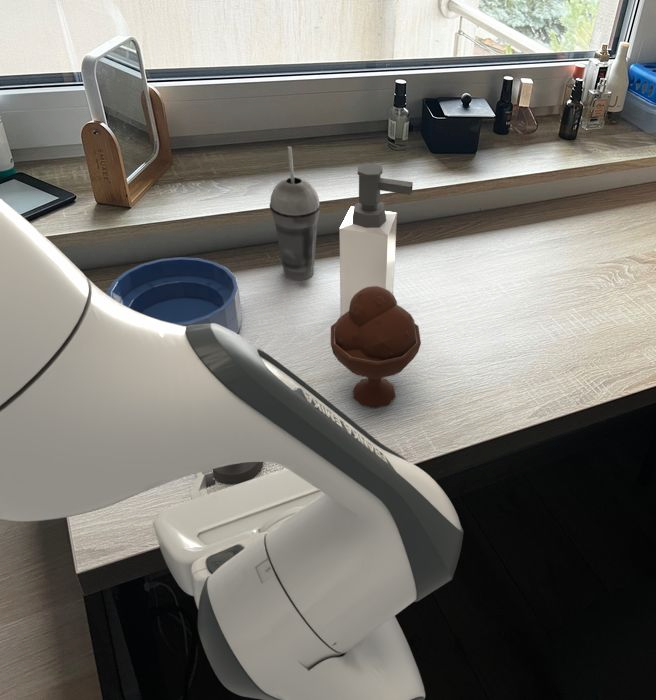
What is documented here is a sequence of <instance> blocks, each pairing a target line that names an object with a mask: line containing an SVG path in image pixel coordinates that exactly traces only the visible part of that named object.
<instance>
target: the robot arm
mask: <svg viewBox="0 0 656 700" xmlns="http://www.w3.org/2000/svg"><path fill="white" fill-rule="evenodd" d="M245 462H263V463H269V464H275V465H279V466H281V467H283V468H282V469H278V470H276V471H273V472H269V473H267V474H263V475H261V476H257V477H253V478H252V479H250V480H248V481H245V482H242V483H238V484H232V485H230V486H227V487H225V488H222V489H218V490H216V491H213V492H210V493H208V488H211V487H212V486H215V485H216V480H215V479H214V473H213V470H212V469H214V468H218V467H223V466H227V465H232V464H238V463H245ZM193 475H194V478H195V479H194V481H193V484H192V486H191V489H190V491H189V497H190V499H189V500H186V501H183V502H180V503H177V504H173V505H170V506H168V507H164V508H162V509H160V510H159V511H158V513H156V516H155V518H154V519H153V522H152V524H153V529H154V534H155V537H156V540H157V543H158V546H159V550H160V552H161V555H162V557H163V559H164V561H165V563H166V566H167V568H168V571H169V572H170V573H171V575H172V577H173V579H174V580H175V582H176V583H177V585H178V587H180V589H181V590H182V591H183V592H184V593H186V594H187V595H188V596H191V597H193V598H194V602H195V606H196V608H197V631H198V635H199V639H200V642H201V645H202V648H203V651H204V654H205V655H206V657H207V660H208V662H209V665H210V667H211V668H212V670H213V672H214V674H215V676H216V677H217V679H218V680H219V682H220V683H221V684H222V685H223V687H225V688H226V689H227V690H228V691H230V692H231V693H233V694H235V695H238V696H240V697H245V698H249V699H257V700H425V699H426V690H425V686H424V682H423V679H422V676H421V673H420V670H419V668H418V665H417V662H416V660H415V658H414V655H413V652H412V650H411V647H410V645H409V643H408V640H407V638H406V635H405V634H404V631H403V629H402V628H401V626H400V624H399V621H398V619H397V617H396V615H398V614H399V613H401V612H402V611H403V610H405V609H406V608H408V606H410V605H411V604H412V603H417V602H419V601H421V600H422V599H423V598H425V597H426V596H428V595H430V594H432V593H433V592H434V591H436V590H438V589H439V588H441V587H442V586H445V584H447V583H449V582H450V581H452V580H453V578H454V575H455V572H456V570H457V565H458V561H459V559H460V554H461V550H462V545H463V540H464V529H463V527H462V525H461V521H460V518H459V516H458V513H457V511H456V509H455V506H454V505H453V503H452V501H451V500H450V498H449V497H448V495H447V494H446V492H445V491H444V489H443V488H442V487H441V486H440V484H438V482H437V481H436V480H435V479H434V478H432V476H431V475H430V474H428V473H427V472H426V471H424V470H423V469H422V468H420V467H419V466H417V465H415V464H414V463H411V462H410V461H409V460H408V459H407V458H405V457H404V456H402V455H401V454H399V453H398V452H396V451H394V450H393V449H391V448H390V447H388V446H386V445H385V444H383V443H381V442H380V440H379V441H378V440H377V438H375V437H374V436H372V435H371V434H370V433H369V432H368V431H366V430H365V429H364V428H362V427H361V426H360V425H359V424H357V423H356V422H355V421H354V420H353V419H351V418H350V417H349V416H348V415H346V414H345V413H344V412H343V411H341V409H339V408H338V407H336V406H335V405H334V404H333V403H332V402H330V401H329V400H328V399H327V398H325V397H324V396H323V395H321V394H320V393H319V392H318V391H316V389H314V388H313V387H312V386H311V385H309V384H308V383H306V381H304V380H303V379H302V378H300V377H299V376H297V375H296V374H295V373H294V372H293V371H291V370H290V369H289V368H287V367H286V366H284V364H282V363H281V362H279V361H278V360H276V359H275V358H274V357H273V356H271V355H270V354H269V353H267V352H266V351H265V350H263V349H262V348H260V347H259V346H257V345H256V344H255V343H253V342H251V341H250V340H248V339H247V338H245V337H244V336H242V335H241V334H239V333H238V332H237V333H235V332H233V331H231V330H229V329H227V328H225V327H223V326H221V325H218V324H216V323H210V324H198V325H188V326H182V325H177V324H172V323H168V322H165V321H161V320H158V319H155V318H152V317H149V316H146V315H144V314H141V313H139V312H136V311H134V310H132V309H130V308H128V307H126V306H124V305H122V304H121V303H119V302H117V301H116V300H114V299H112V298H111V297H109V296H108V295H107V293H105V292H104V291H103V290H101V289H100V288H99V287H98V285H97V286H96V284H94V282H92V281H91V280H90V279H89V278H88V277H87V276H86V275H85V274H84V272H83V271H82V270H80V268H78V266H76V265H75V263H73V262H72V261H71V260H70V258H68V257H67V256H66V255H65V253H63V252H62V251H61V250H60V249H59V248H58V247H57V246H56V244H54V243H53V242H51V241H50V239H48V238H47V237H46V236H45V235H44V234H43V233H42V232H41V231H39V230H38V229H37V228H36V227H35V226H34V225H33V224H32V223H31V222H29V220H27V219H26V218H25V217H24V216H22V215H21V214H20V213H19V212H18V211H16V209H14V208H13V207H11V206H10V205H9V204H8V203H7V202H6V201H4V200H3V199H2V198H1V197H0V520H4V521H10V522H11V521H12V522H40V521H51V520H58V519H59V520H60V519H65V518H70V517H76V516H79V515H80V516H81V515H84V514H88V513H92V512H95V511H99V510H102V509H104V508H107V507H110V506H113V505H116V504H118V503H120V502H123V501H125V500H127V499H131V498H133V497H135V496H138V495H140V494H142V493H145V492H148V491H150V490H153V489H155V488H158V487H161V486H163V485H166V484H169V483H172V482H174V481H178V480H181V479H184V478H187V477H190V476H193Z"/></svg>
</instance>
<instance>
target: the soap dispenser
mask: <svg viewBox="0 0 656 700" xmlns="http://www.w3.org/2000/svg"><path fill="white" fill-rule="evenodd" d="M382 174H383V165H380V164H377V163H373V162H371V163H370V162H363V163H362V164H360V165H358V166H357V176H358V201H357V202H356V203H354V204H353V206H352V205H351V206H350V208H349V210H348V211H347V213H346V215H345V217H344V220H343V221H342V223H341V225H340V227H339V301H340V302H339V303H340V307H339V309H340V311H339V312H340V317H341V316H343V315H344V314H345V313H346V312H348V311H349V307H350V302H351V299H352V298H353V296H354V295H355V294H356V293H357V292H359V291H360V290H362V289H363V288H366V287H370V286H379V287H382V288H384V289H386V290H389V291H390V292H391V293H392V294H393V295H394V288H395V268H396V267H395V266H396V265H395V264H396V243H397V242H396V241H397V220H398V212H395V211H394V212H393V211H388V210H387V211H386V208H385V207H386V205H385V202H382V201H381V191H382V192H388V193H395V194H401V195H402V194H403V195H407V196H408V195H409V196H411V195H412V192H413V186H414V184H413V183H414V182H413V181H408V180H400V179H391V178H384V177H381V176H382Z"/></svg>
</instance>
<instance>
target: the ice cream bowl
mask: <svg viewBox="0 0 656 700" xmlns="http://www.w3.org/2000/svg"><path fill="white" fill-rule="evenodd" d="M397 302H398V301H397V299H396V296H395V295H394V293H393V294H392V293H391V292H390V291H389V290H386V289H384V288H382V287H379V286H370V287H366V288H363V289H362V290H360V291H359V292H357V293H356V294H355V295H354V296H353V298H352V299H351V302H350V307H349V311H348V312H346V313H345V314H344V315H343V316H340V317H339V318H338V319H337V321H335V323H333V324H332V325H331V326H330V347H331V351H332V354H333V356H334V357H335V359H336V360H337V361H338V362H339V363H340V364H341V365H343V366H344V367H345V368H346V369H347V370H349V371H350V373H352V374H354V375H356V376H358V377H363V378H361V379H360V380H359V381H358V382H357V383H356V384H355V385H354V386H353V388H352V396H353V397H352V398H353V399H354V401H356V402H357V403H358V404H359V405H360V406H362V407H366V408H372V409H377V408H378V409H379V408H381V407H386V406H389V404H391V402H393V400H394V399H396V389H395V385H394V384H393V383H392V382H390V381H389V380H388V379H387V378H388V377H390V376H391V377H392V376H396V375H397V374H400V373H401V372H402V371H403V370H404V369H405V368H406V367H407V366H408V365H409V364H410V363H411V362H412V361H413V360H414V359H415V358H416V357H417V355H418V354H419V350H420V348H421V346H422V345H421V344H422V340H421V334H420V329H419V325H417V324H416V323H415V319H414V317H413V316H412V314H411V313H410V312H408V311H407V310H406V309H404V308H403V307H402V306H400V305H399V304H398V303H397Z"/></svg>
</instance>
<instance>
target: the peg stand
mask: <svg viewBox="0 0 656 700" xmlns="http://www.w3.org/2000/svg"><path fill="white" fill-rule="evenodd" d="M263 467H264V462H245V463H238V464H232V465H227V466H223V467H218V468H214V469H212V470H213V473H214V479H215V481H217V482H219V483H222V484H226V485H236V484H239V483H242V482H245V481H248V480H251V479H254V478H256V476H257V475H258V474H259V473H260V472H261V470H262V469H263Z"/></svg>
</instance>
